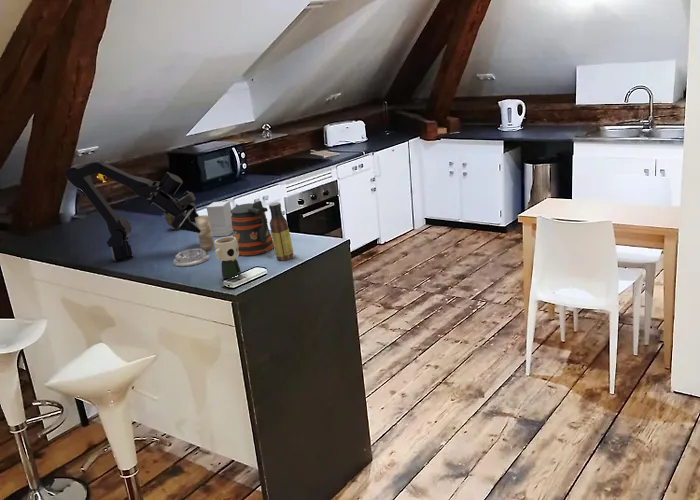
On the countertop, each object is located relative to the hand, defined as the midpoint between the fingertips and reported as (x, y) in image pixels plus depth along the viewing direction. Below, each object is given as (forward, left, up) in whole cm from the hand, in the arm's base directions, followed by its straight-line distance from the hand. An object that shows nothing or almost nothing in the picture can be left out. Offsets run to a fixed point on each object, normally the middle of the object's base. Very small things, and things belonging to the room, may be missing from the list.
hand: (202, 228), depth 259 cm
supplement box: (+13, +13, -8) cm, 20 cm away
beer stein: (+11, -20, -8) cm, 25 cm away
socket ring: (-10, -8, -8) cm, 15 cm away
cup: (+3, +39, -8) cm, 40 cm away
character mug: (-8, -37, -8) cm, 39 cm away
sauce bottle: (+13, -36, -8) cm, 40 cm away
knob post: (0, 0, -8) cm, 8 cm away
